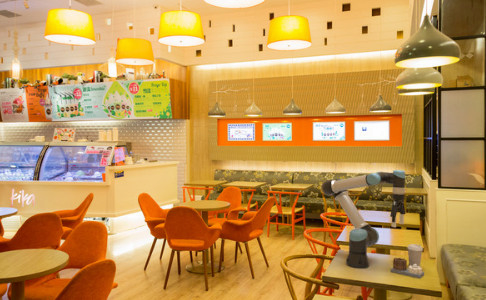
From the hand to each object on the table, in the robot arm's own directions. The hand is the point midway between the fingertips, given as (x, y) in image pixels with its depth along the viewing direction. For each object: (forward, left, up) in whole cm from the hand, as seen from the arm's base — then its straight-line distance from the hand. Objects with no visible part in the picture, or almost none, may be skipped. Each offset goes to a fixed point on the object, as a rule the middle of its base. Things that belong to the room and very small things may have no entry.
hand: (397, 225), depth 262 cm
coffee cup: (+9, +8, -29) cm, 31 cm away
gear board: (+9, -6, -29) cm, 30 cm away
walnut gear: (+4, -6, -27) cm, 28 cm away
